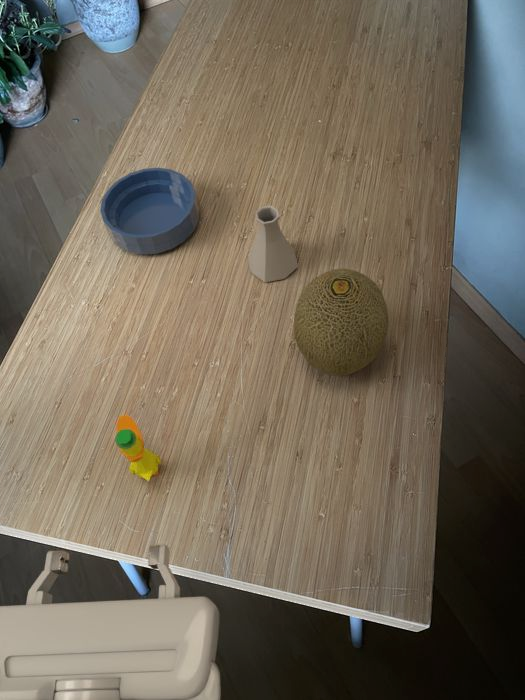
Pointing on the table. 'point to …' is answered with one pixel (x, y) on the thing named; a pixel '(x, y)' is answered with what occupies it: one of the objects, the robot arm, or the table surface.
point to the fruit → (340, 321)
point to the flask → (271, 248)
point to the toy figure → (135, 449)
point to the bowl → (150, 210)
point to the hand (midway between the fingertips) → (109, 549)
